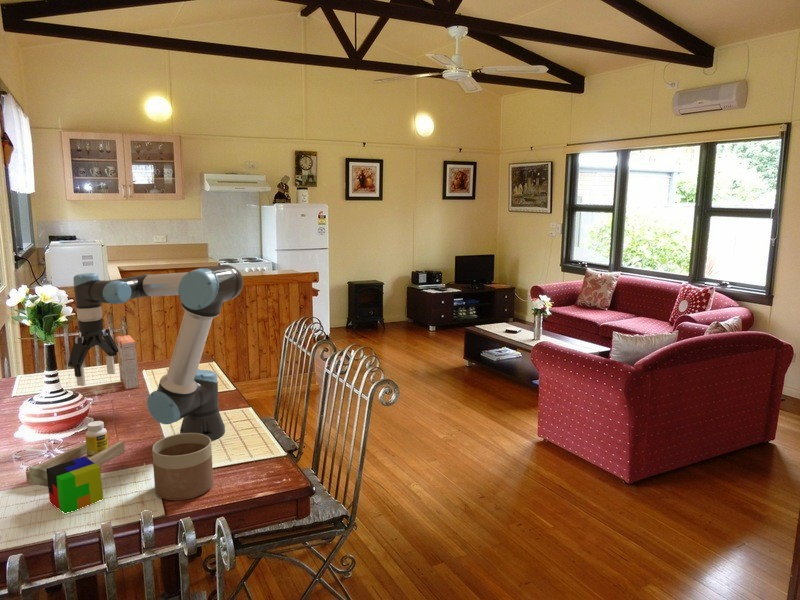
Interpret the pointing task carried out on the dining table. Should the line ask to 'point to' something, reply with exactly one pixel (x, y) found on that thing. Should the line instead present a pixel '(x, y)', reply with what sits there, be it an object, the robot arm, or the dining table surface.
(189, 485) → the planter
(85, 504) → the puzzle toy
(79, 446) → the guide channel
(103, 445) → the pill bottle
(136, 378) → the cracker box
